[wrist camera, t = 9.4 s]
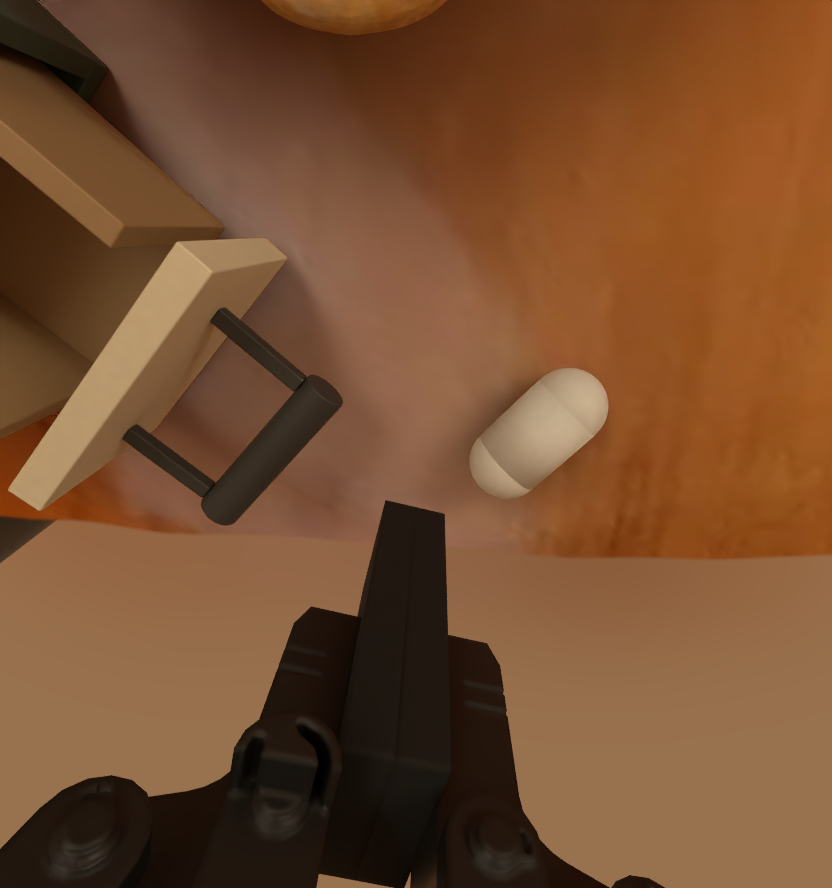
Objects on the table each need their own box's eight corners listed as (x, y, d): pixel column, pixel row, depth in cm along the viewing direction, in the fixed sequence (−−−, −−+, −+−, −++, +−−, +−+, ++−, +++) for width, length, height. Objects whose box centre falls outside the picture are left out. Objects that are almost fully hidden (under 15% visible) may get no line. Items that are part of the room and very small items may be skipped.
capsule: (500, 490, 26) (510, 526, 23) (452, 448, 25) (455, 479, 22) (610, 394, 24) (637, 418, 21) (561, 344, 23) (581, 362, 20)
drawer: (384, 345, 23) (361, 399, 15) (246, 497, 26) (173, 601, 18) (9, 4, 18) (-267, -142, 11) (-101, 236, 21) (-371, 239, 14)
